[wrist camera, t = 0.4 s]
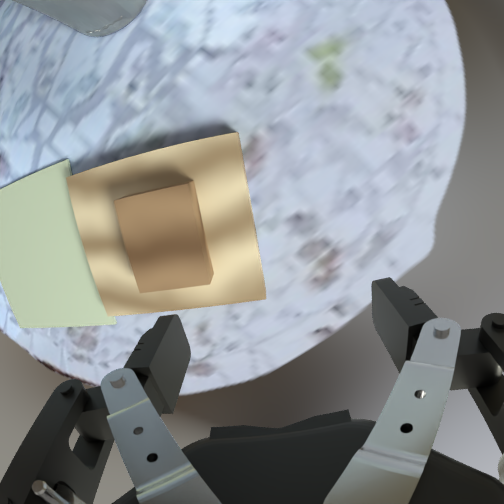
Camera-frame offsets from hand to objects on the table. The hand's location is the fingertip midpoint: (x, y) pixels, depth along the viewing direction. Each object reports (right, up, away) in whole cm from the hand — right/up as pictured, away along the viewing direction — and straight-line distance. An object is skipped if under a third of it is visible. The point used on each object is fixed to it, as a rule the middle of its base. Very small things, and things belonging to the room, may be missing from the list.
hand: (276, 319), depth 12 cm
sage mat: (-28, +2, +20) cm, 35 cm away
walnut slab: (-9, +4, +16) cm, 19 cm away
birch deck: (-10, +5, +18) cm, 21 cm away
